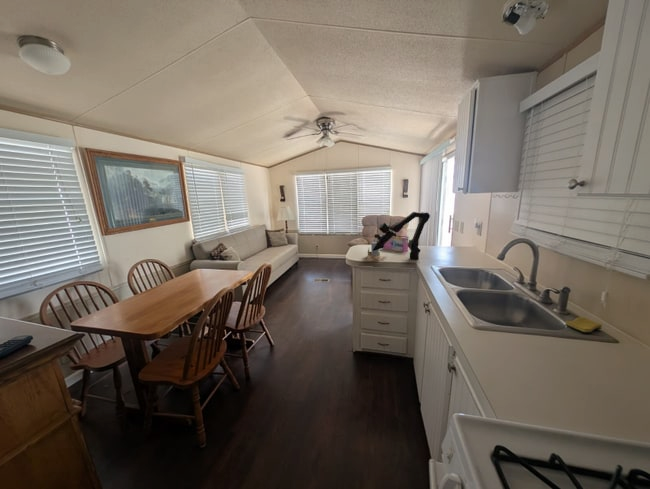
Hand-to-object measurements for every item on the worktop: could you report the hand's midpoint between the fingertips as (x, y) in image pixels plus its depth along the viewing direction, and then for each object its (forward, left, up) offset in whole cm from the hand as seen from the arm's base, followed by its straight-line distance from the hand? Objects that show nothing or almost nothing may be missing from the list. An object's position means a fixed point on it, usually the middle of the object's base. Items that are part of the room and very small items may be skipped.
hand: (373, 249), depth 204 cm
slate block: (-1, 0, -6) cm, 6 cm away
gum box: (-10, -41, -8) cm, 43 cm away
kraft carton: (-4, -1, -8) cm, 9 cm away
